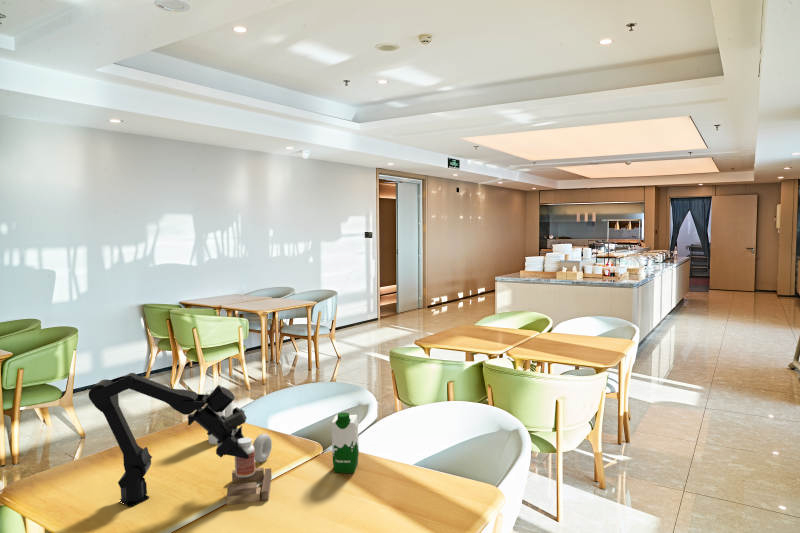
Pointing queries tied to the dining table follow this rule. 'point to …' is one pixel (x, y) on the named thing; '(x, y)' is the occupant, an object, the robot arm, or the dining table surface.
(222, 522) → the dining table surface
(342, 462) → the milk carton
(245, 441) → the pill bottle
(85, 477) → the dining table surface
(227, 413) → the vase
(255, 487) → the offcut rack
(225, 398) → the robot arm
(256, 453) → the grey rounded piece
